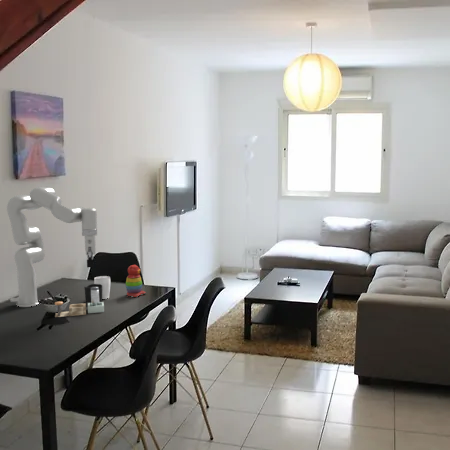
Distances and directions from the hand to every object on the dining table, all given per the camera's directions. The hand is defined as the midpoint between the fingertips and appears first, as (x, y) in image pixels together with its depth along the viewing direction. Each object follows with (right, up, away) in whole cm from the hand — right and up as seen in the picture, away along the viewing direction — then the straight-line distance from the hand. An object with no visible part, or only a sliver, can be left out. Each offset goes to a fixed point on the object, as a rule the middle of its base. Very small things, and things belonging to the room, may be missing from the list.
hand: (90, 265), depth 286 cm
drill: (+3, -23, +1) cm, 23 cm away
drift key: (-14, -22, -6) cm, 27 cm away
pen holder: (-2, -23, +18) cm, 29 cm away
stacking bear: (+17, -20, +36) cm, 44 cm away
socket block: (-8, -25, -4) cm, 26 cm away
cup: (0, -21, +30) cm, 36 cm away
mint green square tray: (+3, -24, +1) cm, 24 cm away
